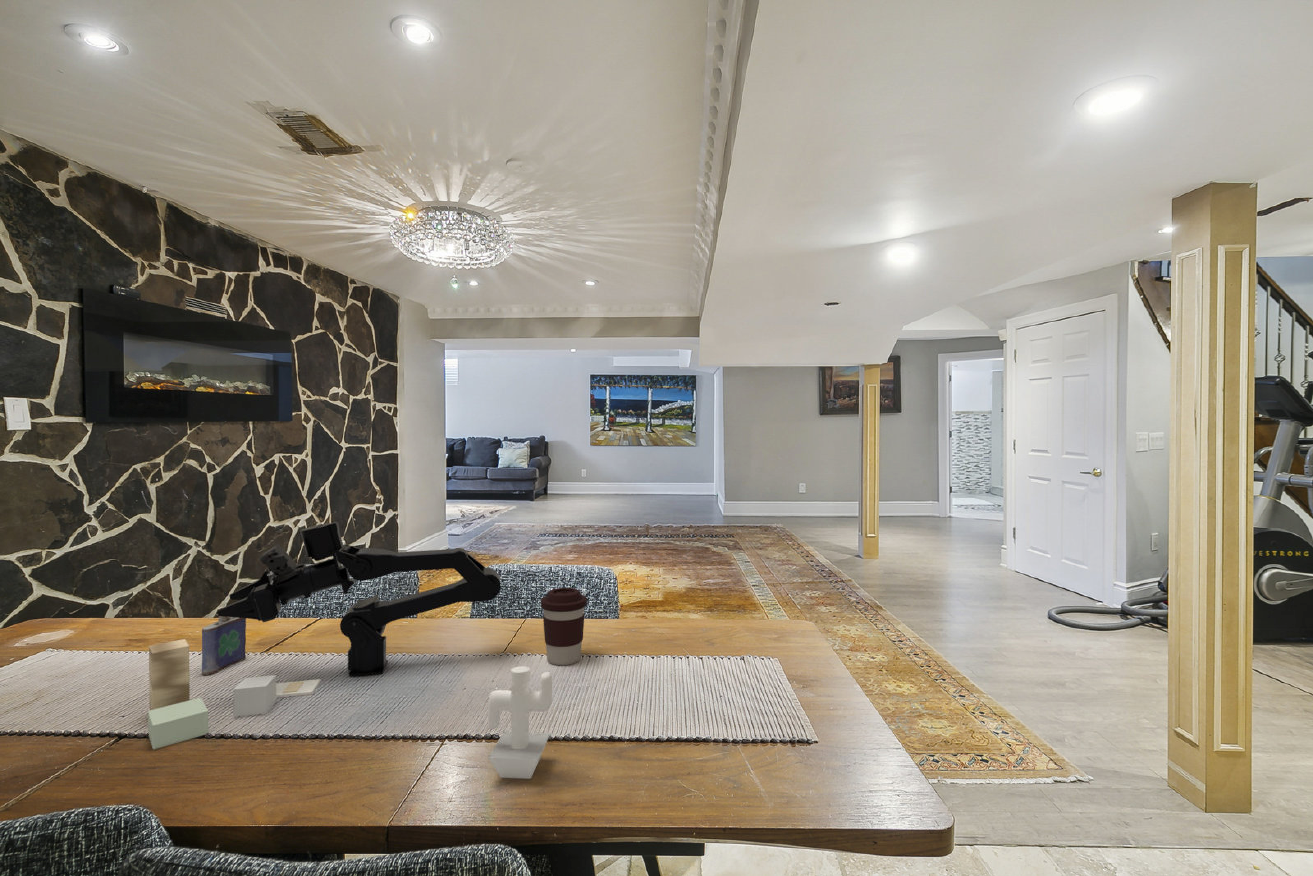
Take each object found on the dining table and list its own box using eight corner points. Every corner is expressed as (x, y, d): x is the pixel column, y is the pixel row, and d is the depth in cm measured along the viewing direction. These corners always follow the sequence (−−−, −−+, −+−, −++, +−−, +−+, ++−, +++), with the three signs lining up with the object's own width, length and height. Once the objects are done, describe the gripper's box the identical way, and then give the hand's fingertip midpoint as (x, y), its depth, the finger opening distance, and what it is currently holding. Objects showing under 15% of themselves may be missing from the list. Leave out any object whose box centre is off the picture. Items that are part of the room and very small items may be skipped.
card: (320, 681, 119) (320, 678, 119) (312, 694, 113) (312, 690, 113) (275, 686, 117) (275, 682, 117) (264, 699, 111) (264, 695, 111)
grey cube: (276, 702, 110) (276, 675, 110) (266, 714, 105) (266, 686, 105) (245, 705, 109) (245, 677, 109) (233, 717, 104) (233, 689, 104)
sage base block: (200, 720, 103) (200, 697, 103) (208, 735, 98) (208, 710, 98) (148, 735, 98) (147, 711, 98) (153, 751, 94) (152, 725, 93)
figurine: (496, 755, 92) (496, 658, 92) (557, 757, 91) (557, 659, 91) (480, 783, 85) (480, 677, 84) (545, 785, 84) (545, 679, 84)
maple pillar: (185, 704, 109) (184, 639, 109) (189, 713, 105) (189, 646, 105) (149, 713, 105) (149, 646, 105) (152, 723, 102) (152, 653, 102)
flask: (209, 676, 121) (209, 619, 121) (196, 675, 122) (195, 619, 122) (249, 658, 131) (249, 605, 131) (237, 657, 132) (236, 605, 132)
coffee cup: (565, 672, 124) (565, 600, 123) (531, 662, 129) (531, 592, 129) (596, 657, 132) (596, 589, 132) (562, 648, 137) (562, 583, 137)
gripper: (308, 530, 128) (223, 553, 123) (295, 553, 111) (196, 581, 106) (322, 578, 130) (240, 603, 125) (312, 608, 113) (216, 638, 108)
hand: (224, 605), depth 115 cm, fingers open, 9 cm apart
